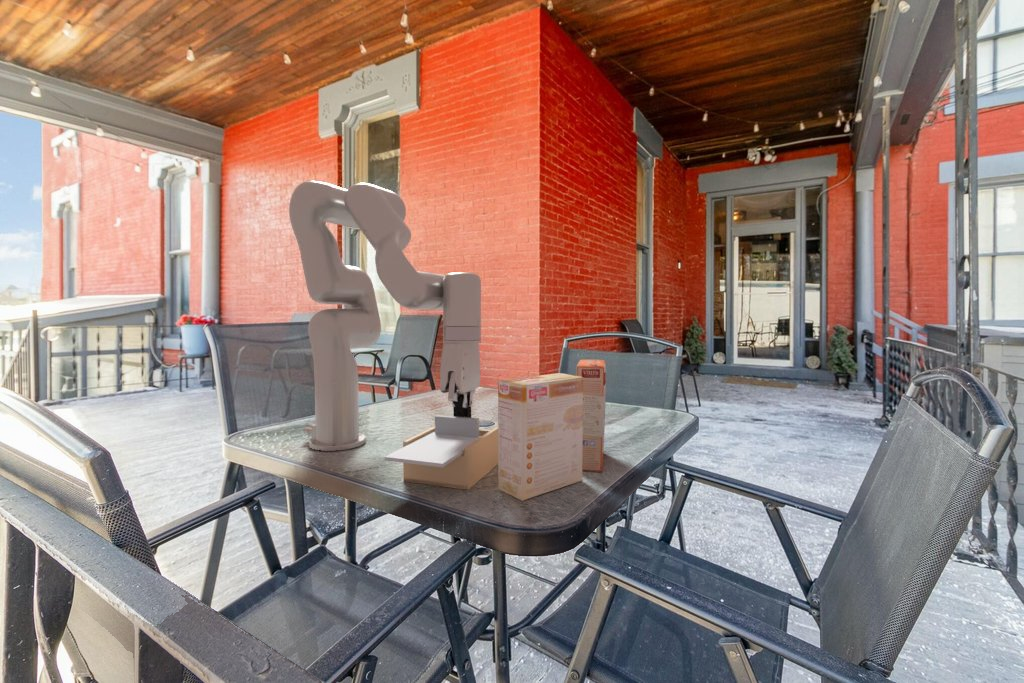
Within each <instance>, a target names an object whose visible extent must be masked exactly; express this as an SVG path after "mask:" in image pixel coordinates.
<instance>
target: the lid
mask: <svg viewBox="0 0 1024 683" xmlns="http://www.w3.org/2000/svg"><path fill="white" fill-rule="evenodd" d="M434 426H435V432H433V433H431V434H429V435H427V436H425V437H423V438H421V439H419V440H417V441H415V442H413V443H411V444H409V445H407V446H405V447H403V446H402V447H401V448H399V449H396V450H395V451H393V452H390V453H389V454H387V455H385V456H384V457H383V458H384V459H383V460H384V461H387V462H394V463H410V464H418V465H427V466H435V467H444V466H446V465H447V464H448V463H450V462H451V461H453V460H454V459H456V458H457V457H459V456H460V455H462V454H463V453H464V448H465V447H466V446H468V445H469V444H471V443H472V442H474V441H475V440H477V439H478V438H480V437H481V436H479V429H480V418H479V417H477V418H476V417H471V418H468V417H455V416H454V415H442V414H441V415H440V414H437V415H435V416H434Z"/></svg>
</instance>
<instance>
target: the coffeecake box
mask: <svg viewBox="0 0 1024 683" xmlns="http://www.w3.org/2000/svg"><path fill="white" fill-rule="evenodd" d="M497 421H498V422H497V423H498V425H497V426H498V464H497V468H498V470H497V474H498V476H497V477H498V478H497V479H498V480H497V482H498V487H497V488H498V489H497V490H499V491H501V492H502V493H504V494H508V495H509V496H512V497H513V498H516V500H520V501H523V502H524V501H526V500H530V499H531V498H534V497H538V496H540V495H541V496H542V495H543V494H546V493H549V492H550V493H551V492H552V491H555V490H558V489H562V488H564V487H567V486H570V485H572V484H576V483H579V482H582V481H583V470H582V455H583V453H582V451H583V377H580V376H576V375H572V374H569V373H568V374H567V373H563V372H562V373H561V372H560V373H559V372H557V373H550V374H541V375H533V376H522V377H517V378H516V377H515V378H508V379H499V380H498V381H497Z"/></svg>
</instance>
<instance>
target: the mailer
mask: <svg viewBox="0 0 1024 683" xmlns="http://www.w3.org/2000/svg"><path fill="white" fill-rule="evenodd" d="M433 432H435V425H434V426H432V427H430V428H428V429H426V430H424V431H422V432H419V433H417V434H415V435H414V436H412V437H409V438H407V439H406V440H404V441H402V448H403V447H405V446H407V445H409V444H411V443H413V442H415V441H417V440H419V439H421V438H423V437H425V436H427V435H429V434H431V433H433ZM479 436H481V437H480V438H478V439H477V440H475V441H474V442H472V443H471V444H469V445H468V446H466V447H465V448H464V453H463V454H462V455H460V456H459V457H457V458H456V459H454V460H453V461H451V462H450V463H448V464H447V465H446V466H444V467H435V466H427V465H418V464H410V463H403V465H402V466H403V468H402V471H403V472H402V473H403V482H410V483H415V484H421V485H422V484H423V485H428V486H429V485H430V486H435V487H436V486H438V487H445V488H451V489H452V488H453V489H461V490H470V489H472V488H473V486H475V485H476V484H477V483H479V482H480V481H481V479H482V478H484V477H486V475H488V474H489V472H491V470H493V469H494V468H495V467H496V466H498V425H497V426H495V427H494V428H492V429H482V428H481V429H480V428H479Z"/></svg>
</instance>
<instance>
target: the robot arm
mask: <svg viewBox="0 0 1024 683" xmlns="http://www.w3.org/2000/svg"><path fill="white" fill-rule="evenodd" d="M288 211H289V212H288V214H289V221H290V225H291V228H292V231H293V234H294V236H295V240H296V242H297V245H298V248H299V254H300V259H301V264H302V270H303V275H304V278H305V284H306V289H307V291H308V294H309V297H310V299H311V300H312V301H314V302H316V303H318V304H324V305H325V304H326V305H343V306H344V308H326V309H321V310H320V311H318V312H316V313H314V314H313V315H312V316H311V318H310V320H309V322H308V327H307V330H308V337H309V343H310V347H311V351H312V359H313V374H314V375H313V376H314V378H313V379H314V416H315V417H314V418H315V423H313V422H312V423H311V422H310V423H308V424H307V426H306V427H304V429H303V433H305V434H311V438H310V440H308V447H309V448H310V449H311V448H312V450H314V449H315V450H314V451H319V450H321V451H322V452H336V450H338V451H344V450H350V449H354V448H357V447H361V446H362V445H364V444H365V443H366V442H367V436H366V435H365V434H363V433H360V420H359V419H360V413H359V412H360V411H359V408H360V406H359V405H360V404H359V372H358V371H359V370H358V365H357V361H356V358H355V357H354V355H353V353H352V350H351V349H361V348H362V349H363V348H368V347H372V346H373V345H374V344H376V343H377V342H378V340H379V339H380V336H381V332H382V331H381V330H382V325H381V324H382V323H381V318H380V313H379V312H380V311H379V308H378V303H377V298H376V293H375V289H374V288H375V287H374V285H373V284H374V283H373V282H372V279H371V277H370V276H369V275H368V273H367V272H366V271H365V270H363V269H362V268H361V267H358V266H354V265H345V264H344V263H343V260H342V257H341V253H340V248H339V244H338V242H337V239H336V237H335V236H334V234H333V233H332V232H331V230H330V229H329V227H328V225H327V224H326V223H329V224H333V225H339V226H343V227H347V228H352V229H353V228H354V229H360V231H361V232H362V234H363V235H364V236H365V238H366V239H367V240H368V242H369V243H370V245H371V247H373V249H374V251H375V255H374V260H375V263H374V264H375V269H376V273H377V276H378V278H379V280H380V282H381V283H382V285H383V286H384V288H385V289H386V290H387V292H388V293H389V294H390V296H391V297H392V298H393V299H394V301H395V302H396V303H397V304H399V305H400V306H401V307H403V308H405V309H409V310H423V311H424V310H425V311H426V310H428V311H440V310H442V322H443V323H442V325H443V326H442V329H443V330H442V340H443V344H442V349H441V358H440V372H439V373H440V374H439V377H440V378H439V389H440V390H439V391H440V392H441V393H442V394H447V393H448V394H447V400H448V401H449V402H451V404H452V408H453V409H452V410H453V416H455V417H468V418H472V405H473V396H474V394H475V393H476V389H478V388H479V387H480V385H481V356H480V354H481V353H480V344H481V343H482V280H481V277H480V275H478V274H477V273H474V272H464V271H463V272H461V271H459V272H449V273H446V274H440V273H432V272H428V271H427V272H426V271H419V270H416V268H415V267H414V266H413V265H412V264H411V262H410V261H409V260H408V257H406V255H405V253H404V252H403V251H404V250H405V249H406V248H407V247H408V245H409V244H410V242H411V238H412V232H411V229H410V228H409V227H408V225H406V223H405V222H404V221H405V218H406V216H407V210H406V204H405V202H404V200H403V199H402V198H401V197H400V196H399V195H398V194H397V193H396V192H395V191H394V192H393V191H392V190H389V189H385V188H383V187H380V186H378V185H375V184H372V183H366V182H358V183H355V184H352V185H351V186H350V187H348V188H347V189H346V188H344V187H343V188H342V187H340V186H337V185H334V184H331V183H328V182H323V181H319V180H317V181H316V180H306V181H303V182H301V183H299V185H297V186H296V188H294V190H293V192H292V194H291V197H290V200H289V208H288ZM321 451H320V452H321Z"/></svg>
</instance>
